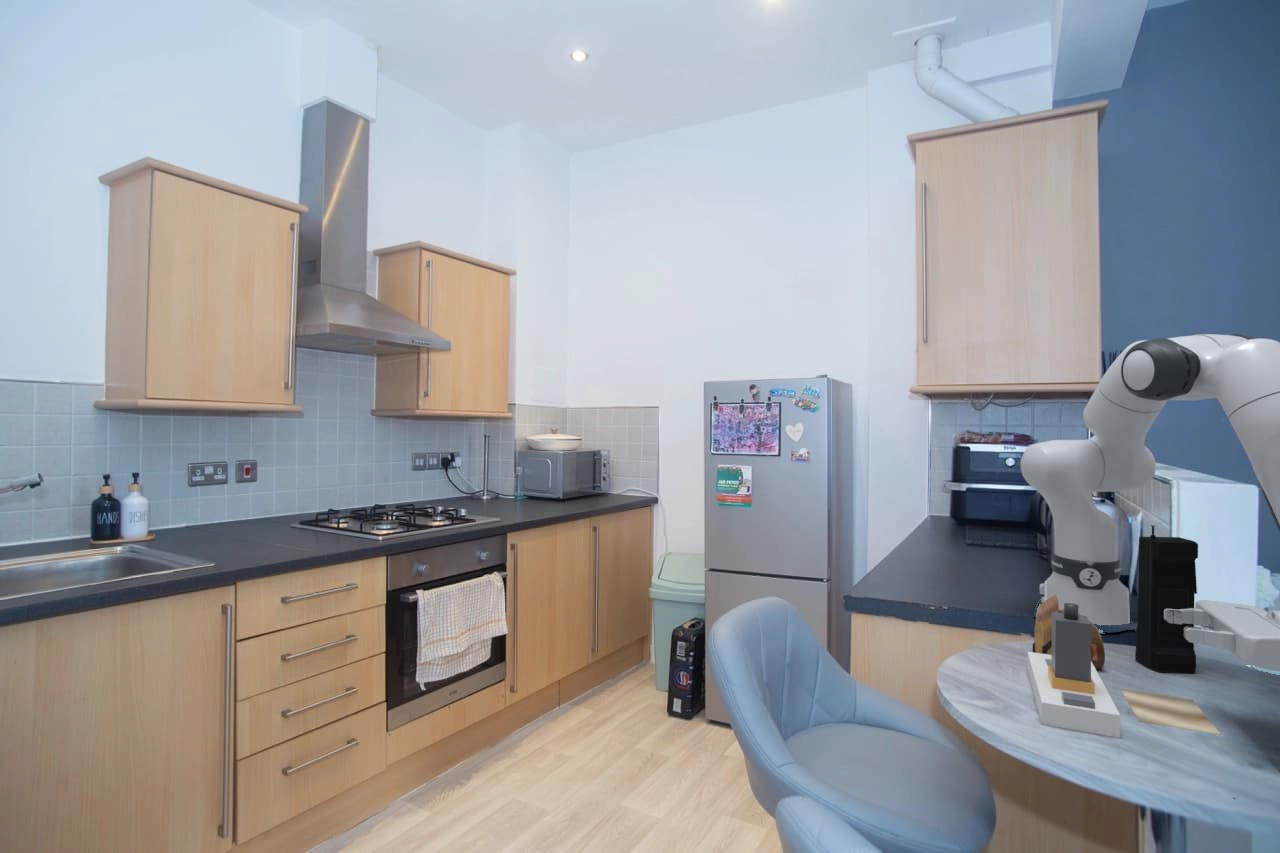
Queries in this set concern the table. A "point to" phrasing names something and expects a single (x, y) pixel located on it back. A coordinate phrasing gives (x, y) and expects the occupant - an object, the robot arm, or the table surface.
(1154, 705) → the oak board
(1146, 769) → the table surface
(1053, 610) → the ammunition clip
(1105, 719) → the power strip
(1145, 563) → the portable radio
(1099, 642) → the tin
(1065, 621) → the plug
